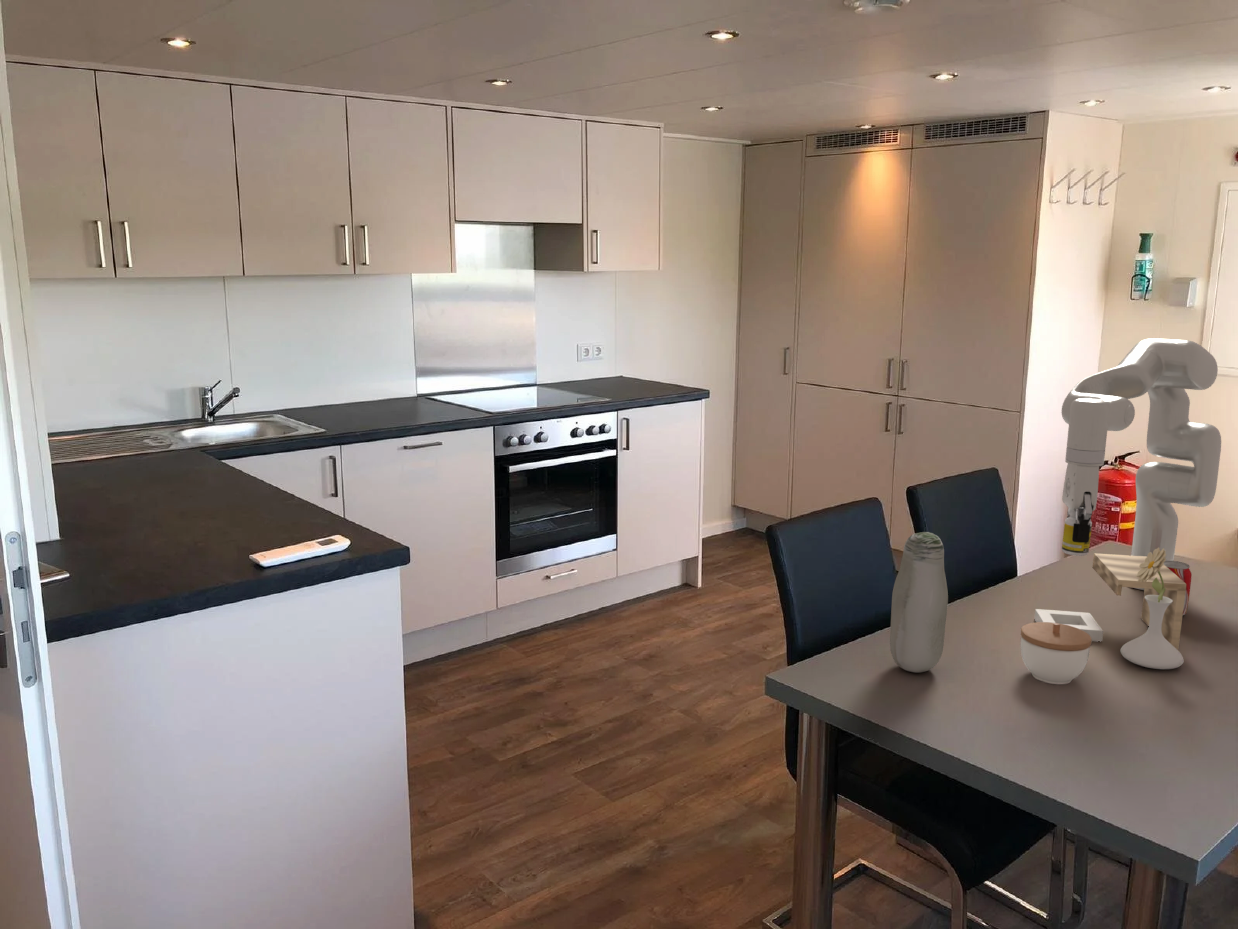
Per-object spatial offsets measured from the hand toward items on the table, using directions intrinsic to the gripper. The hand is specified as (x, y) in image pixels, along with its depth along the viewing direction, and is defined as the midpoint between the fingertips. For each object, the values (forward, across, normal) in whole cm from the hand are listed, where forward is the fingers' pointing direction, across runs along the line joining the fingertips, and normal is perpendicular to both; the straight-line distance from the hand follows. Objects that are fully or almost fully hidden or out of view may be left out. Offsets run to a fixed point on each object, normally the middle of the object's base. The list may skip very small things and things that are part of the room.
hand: (1076, 537), depth 214 cm
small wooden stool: (+21, -2, +13) cm, 25 cm away
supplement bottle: (+4, 0, 0) cm, 4 cm away
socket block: (+21, 0, 0) cm, 21 cm away
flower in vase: (+21, +17, +12) cm, 30 cm away
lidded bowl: (+21, +28, -9) cm, 37 cm away
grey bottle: (+21, +30, -35) cm, 51 cm away
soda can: (+22, -17, +26) cm, 38 cm away
